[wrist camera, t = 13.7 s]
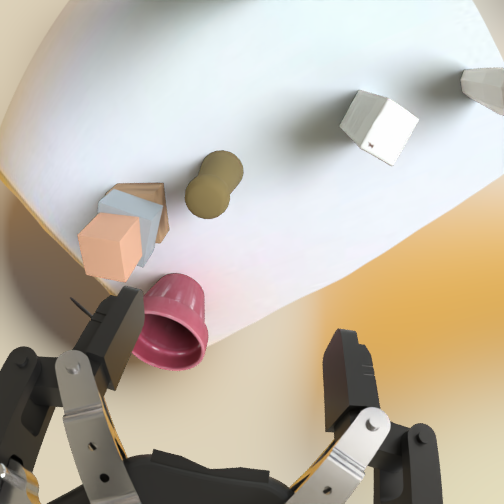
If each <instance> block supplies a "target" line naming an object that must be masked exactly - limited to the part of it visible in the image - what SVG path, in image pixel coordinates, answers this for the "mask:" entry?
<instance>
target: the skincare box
mask: <svg viewBox="0 0 504 504" xmlns="http://www.w3.org/2000/svg"><path fill="white" fill-rule="evenodd" d="M418 121H419V119H418V118H416V117H415V116H414V115H412V114H411V113H410V112H408V111H407V110H406V109H404V108H403V107H401V106H400V105H398V104H397V103H395V102H394V101H392V100H391V99H389V98H387V97H383V96H379V95H376V94H372V93H369V92H365V91H362V90H358V92H357V94H356V96H355V98H354V100H353V102H352V103H351V105H350V107H349V109H348V111H347V113H346V114H345V116H344V118H343V120H342V122H341V124H340V125H339V127H340V128H341V129H342V130H343V131H344V132H345V133H346V134H347V135H348V136H349V137H350V138H351V139H352V140H353V141H354V142H355V143H356V144H357V145H358V147H359V148H360V149H362V150H364V151H366V152H368V153H370V154H371V155H373V156H375V157H377V158H378V159H380V160H382V161H384V162H385V163H387V164H389V165H390V166H393V165H394V163H395V161H396V160H397V158H398V156H399V155H400V153H401V151H402V150H403V148H404V146H405V144H406V142H407V141H408V139H409V137H410V135H411V133H412V132H413V130H414V128H415V126H416V125H417V123H418Z"/></svg>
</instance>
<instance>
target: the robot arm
mask: <svg viewBox="0 0 504 504" xmlns="http://www.w3.org/2000/svg"><path fill="white" fill-rule="evenodd" d="M144 320H145V312H144V301H143V292H142V290H140V289H136V288H132V287H128V286H124V287H123V288H122V289H121V291H120V293H119V294H118V296H117V297H116V296H113V295H110V296H109V297H107V298H106V299H105V300H103V301H102V302H101V303H100V305H99V307H98V308H97V310H96V313H94V315H93V316H92V318H91V321H89V323H88V325H87V326H86V328H85V330H84V331H83V333H82V335H81V336H80V338H79V340H78V342H77V343H76V345H75V347H74V348H73V349H72V350H69V351H66V352H64V353H63V354H61V355H60V356H59V357H57V358H56V357H55V358H54V357H38V356H37V355H36V353H35V352H34V351H33V350H32V349H31V348H29V347H18V348H16V349H14V350H13V351H12V352H11V353H10V354H9V356H8V358H7V360H6V361H5V363H4V365H3V367H2V369H1V371H0V504H41V503H40V501H39V497H38V492H39V484H38V481H37V479H36V477H35V476H34V475H33V473H32V471H33V468H34V465H35V462H36V459H37V456H38V453H39V450H40V447H41V445H42V442H43V439H44V436H45V433H46V431H47V428H48V425H49V423H50V420H51V417H52V415H53V412H54V410H55V407H63V408H64V413H65V415H64V416H63V423H64V426H65V430H66V434H67V438H68V441H69V444H70V448H71V451H72V454H73V457H74V460H75V463H76V466H77V469H78V472H79V475H80V478H81V480H82V483H83V484H82V485H80V486H79V487H77V488H75V489H73V490H71V491H70V492H68V493H66V494H64V495H62V496H60V497H58V498H57V499H55V500H53V501H51V502H49V503H47V504H344V503H345V502H346V501H347V499H348V498H349V497H350V495H351V494H352V493H353V492H354V490H355V489H356V487H357V486H358V485H359V483H360V482H361V480H362V479H363V477H364V475H365V473H364V470H365V468H366V467H367V466H370V467H374V504H443V499H442V484H441V474H440V464H439V456H438V448H437V440H436V435H435V433H434V431H433V430H432V428H431V427H429V426H428V425H426V424H423V423H418V424H415V425H413V426H412V427H411V428H408V427H404V426H401V425H398V424H395V423H393V422H391V421H390V419H389V417H388V416H387V414H385V412H384V411H382V410H381V409H380V405H379V398H378V392H377V386H376V380H375V376H374V369H373V363H372V358H371V354H370V353H369V351H368V349H367V348H366V346H365V345H361V344H359V343H358V338H357V333H356V331H351V330H345V329H337V330H336V332H335V334H334V335H333V337H332V339H331V341H330V343H329V345H328V347H327V349H326V351H325V353H324V357H323V380H324V400H325V401H324V403H325V431H326V432H334V440H333V441H332V442H331V443H330V444H329V446H328V447H327V448H326V449H325V450H324V451H323V453H322V454H321V455H320V456H319V457H318V458H317V460H316V461H315V462H314V463H313V464H312V465H311V466H310V467H309V469H308V470H307V471H306V472H305V473H304V474H303V475H302V476H300V478H299V479H298V480H296V482H295V483H293V484H292V485H291V486H290V487H287V486H286V485H285V484H283V483H282V482H280V481H278V480H276V479H274V478H272V477H269V471H266V470H258V469H250V468H242V467H239V468H226V469H209V468H206V467H204V466H201V465H199V464H197V463H195V462H193V461H191V460H188V459H186V458H184V457H182V456H179V455H174V454H171V453H166V452H163V451H159V450H156V449H153V453H152V454H146V455H137V456H133V457H129V458H128V457H127V455H126V453H125V450H124V448H123V446H122V443H121V441H120V439H119V437H118V434H117V432H116V430H115V427H114V424H113V422H112V419H111V416H110V413H109V410H108V407H107V404H106V402H105V398H104V395H105V392H106V390H107V388H108V389H111V390H114V391H115V390H116V388H117V386H118V383H119V381H120V379H121V376H122V374H123V372H124V369H125V367H126V365H127V362H128V360H129V358H130V355H131V353H132V351H133V349H134V346H135V344H136V342H137V340H138V337H139V335H140V333H141V331H142V328H143V325H144Z"/></svg>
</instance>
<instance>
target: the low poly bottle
mask: <svg viewBox="0 0 504 504" xmlns="http://www.w3.org/2000/svg"><path fill="white" fill-rule="evenodd" d="M460 82H461V87H462V92H463V93H464V94H466V95H467V96H468V97H469V98H471V99H472V100H474V101H476V102H478V103H480V104H482V105H483V106H485V107H487V108H489V109H491V110H492V111H494V112H496V113H497V114H500V115H503V116H504V68H479V69H468V70H464V72H463V74H462V77H461V79H460Z"/></svg>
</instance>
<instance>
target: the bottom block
mask: <svg viewBox="0 0 504 504" xmlns="http://www.w3.org/2000/svg"><path fill="white" fill-rule="evenodd" d="M113 189H116V190H119V191H122V192H125V193H128V194H131V195H134V196H136V197H139V198H142V199H145V200H148V201H151V202H154V203H157V204H160V205H163V209H162V213H161V218H160V222H159V227H158V232H157V236H156V241H155V243H161V242H162V240H163V239H164V237H165V236H166V234H167V233H168V231H169V224H168V216H167V208H166V200H165V191H164V183H120V184H116V185H115V186H114V187H113V188H112V189H110V190H109V191H108V192H107V193H106V194H105V196H106V195H107V194H108V193H109V192H110V191H112V190H113Z"/></svg>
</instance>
